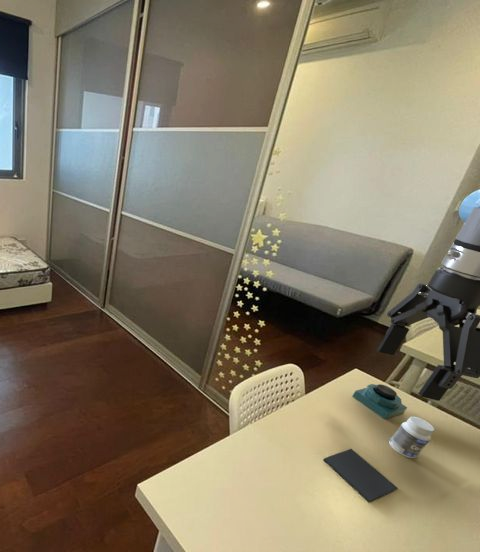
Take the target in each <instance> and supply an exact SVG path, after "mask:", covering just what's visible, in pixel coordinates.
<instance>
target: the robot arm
mask: <svg viewBox="0 0 480 552" xmlns="http://www.w3.org/2000/svg"><path fill="white" fill-rule="evenodd" d="M458 216H459V218H460V219H461V220H462V222H464V223H463V225H462V227H461V228H460V230H459V232H458V234H457V235H456V237H455V239H454V241H453V243H452V244H451V246H450V248H449V249H448V251H447V253H446V254H445V256H444V257H443V259H442V260H441V262H440V264H441V267H439V268H438V267H437V268H436V269H435V272H434V273H433V274H432V276H431V278H430V280H429V281H428V282H427V284H425V283H418V284H417V285H416V286H415V288H414V290H413V291H412V292H411V293H410V294H408V295H407V296H406V297H405V298H404V299H402V300H401V301H400V302H399V303H397V304H396V305H394V307H392V308H391V309H390V310H389V311H388V312H387V313H386V316H387V317H388V318H390V325H389V327H388V329H387V330H386V332H385V335H384V337H383V339H382V341H381V342H380V344H379V346H378V347H377V349H376V351H377V352H378V353H381V354H386V355H390V356H394V355H395V353H396V352H397V350H398V349H399V347H400V346H401V344H402V342H403V341H404V340H405V338H406V336H407V334H408V333H409V331H410V329H409V328H412V325H414V324H416V323H418V322H420V321H423V320H426V319H429V318H430V319H432V320H433V321H434V322H435V323H436V324H437V325H438V329H439V330H440V331H441V332H442V350H443V351H442V352H443V365H441V364H437V366H436V367H435V369H434V370H433V372H432V373H431V374H430V376H429V377H428V378H427V380H426V382H425V383H424V384H423V386H422V387H421V389H420V390H419V392H418V393H417V395H419V397H421V398H426V399H429V400H434V401H437V402H440V401H441V399H443V397H444V396H445V394H446V393H447V392H448V390H451V389H452V388H454V387H455V385H456V383H458V381H459V380H460V379H461V377H462V376H464V377H469V378H473V379H479V378H480V314H478V313H477V312H478V308H479V307H480V189H477V190H475V191H473V192H472V193H470V194H468V195H466V197H465V198H464V199H463V201H462V202H461V203H460V205H459V207H458Z"/></svg>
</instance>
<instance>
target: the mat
mask: <svg viewBox="0 0 480 552" xmlns="http://www.w3.org/2000/svg"><path fill="white" fill-rule="evenodd" d="M323 461H324V463H326V464H327V465H328V466H329V467H330V468H331V469H332V470H334V472H335V473H337V474H338V476H340V477H341V478H342V479H343V480H344V481H345V482H347V484H348V485H349V486H351V487H352V488H353V489H354V490H355V491H356V492H357V493H358V494H359V495H360V496H361V497H362V498H363V499H365V500H366V501H367V502H368V503H371V502H374V501H375V500H378V499H379V498H382V497H384V496H387V495H388V494H390V493H392V492H394V491H397V490H398V489H399V487H398V486H396V485H395V484H394V483H393V482H392V481H391V480H389V479H388V477H386V476H385V475H384V474H382V473H381V472H380V471H378V469H376V468H375V467H374V466H373V465H372V464H370V463H369V462H368V461H366V459H364V458H363V457H362V456H360V454H359V453H357V452H356V451H355V450H353V449H352V448H348V449H346V450H343V451H340V452H338V453H335V454H332V455H330V456H326V457H324V458H323Z"/></svg>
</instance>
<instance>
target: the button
mask: <svg viewBox="0 0 480 552" xmlns="http://www.w3.org/2000/svg"><path fill="white" fill-rule="evenodd" d="M376 385H377V386H376V388H375V389H374V391H375V393H376V394H378V395H379V396H381V397H383V398H385V399H388V400H393V399H394V398H395V396H396V395H397V396H398V394H397V393H398V392H396V391H395V390H394V389H393V388H391V387H390V386H388V385H385V384H382V383H381V384H380V383H379V384H376Z"/></svg>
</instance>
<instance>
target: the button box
mask: <svg viewBox="0 0 480 552" xmlns="http://www.w3.org/2000/svg"><path fill="white" fill-rule="evenodd" d="M377 385H378V384H373V383H371V384H368V385H367V386H366V387H364V388H360V389H357V390H355V391H354V392H353V394H352V398H354V399H355V400H356V401H358V402H359V403H361V404H362V405H363V406H365V407H366V408H368V409H369V410H371V411H372V412H373V413H375V414H376V415H378V416H379V417H381V418H382V419H384V420H388V419H391V418H394V417H397V416H399V415H402V414H404V413H405V411H406V410H407V409H408V406H406V405H404V404H403V402H402V398H401V397H400V396H399V395H398V394H397V395H396V396H395V398H394V399H393V400H388V399H385V398H383V397H381V396H379V395H378V394H376V393H375V391H374V389H375V388H376V386H377Z"/></svg>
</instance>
